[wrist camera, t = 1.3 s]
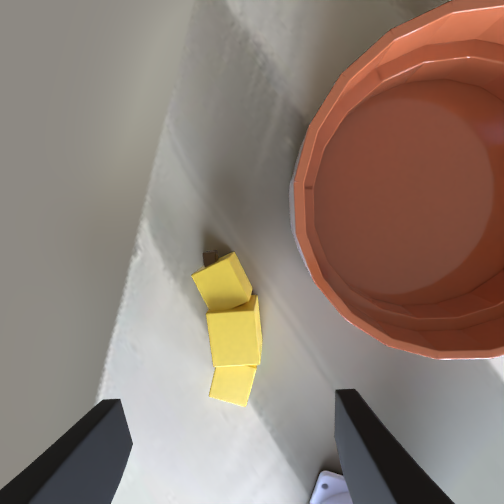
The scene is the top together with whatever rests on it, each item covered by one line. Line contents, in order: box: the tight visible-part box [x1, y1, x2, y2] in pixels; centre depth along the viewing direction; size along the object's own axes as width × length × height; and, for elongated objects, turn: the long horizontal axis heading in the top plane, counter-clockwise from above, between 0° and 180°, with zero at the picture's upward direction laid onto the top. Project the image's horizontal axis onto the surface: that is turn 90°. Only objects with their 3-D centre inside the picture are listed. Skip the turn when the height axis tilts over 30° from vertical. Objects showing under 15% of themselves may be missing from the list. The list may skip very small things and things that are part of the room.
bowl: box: [289, 0, 504, 360], centre depth 14 cm, size 16×16×5 cm
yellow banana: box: [191, 250, 262, 407], centre depth 17 cm, size 10×4×3 cm, turn 6°
